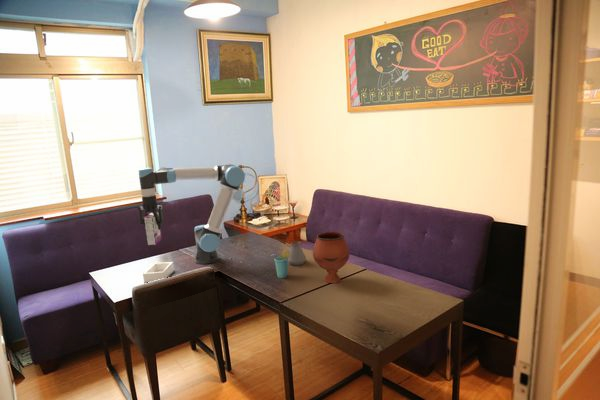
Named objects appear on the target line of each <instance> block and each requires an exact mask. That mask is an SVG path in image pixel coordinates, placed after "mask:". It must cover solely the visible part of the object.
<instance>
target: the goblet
mask: <svg viewBox="0 0 600 400" xmlns="http://www.w3.org/2000/svg"><path fill="white" fill-rule="evenodd" d="M312 257H313V260H314V262H315V264H317V265H318V266H319V268H321V269H323V270H325V271H326V273H327V274H326V275H325V277H324V279H323V280H324V282H325V283H328V284H336V283H338V282H340V281H341V277H340V276H339V274H338V273H339V270H340V269H342V268H343V267H344V266H345V265H346V264H347V262H348V261H349V259H350V249H349V247H348V243H347V241H346V239H345V235H344V233H343V232H340V231H327V232H322V233H319V234H317V235H316V240H315V242H314V245H313V249H312Z"/></svg>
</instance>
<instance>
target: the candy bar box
mask: <svg viewBox="0 0 600 400" xmlns="http://www.w3.org/2000/svg"><path fill="white" fill-rule="evenodd" d="M157 214H158V216H159V212H157ZM144 221H145V226H144V229H145V228H146V230H145V234H146V240H147V241H146V242H147V245H148V246H156V245H157V244H159V242H160V241H161V240H162V239H163V238H162V230H161V229H162V228H161V229H160V235H159V236H157V228H156V224H157V222H156V219H155V215H154V214H153V213H152V212H149V215H147V216H146V217H145V216H144Z"/></svg>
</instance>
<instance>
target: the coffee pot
mask: <svg viewBox="0 0 600 400" xmlns="http://www.w3.org/2000/svg"><path fill="white" fill-rule="evenodd" d="M272 240H273V241H275V240H276V241H278V242H280V243H282V244H283V245H286V246H287V247H289V248H290V250H289V253H290V256H289V258H288V260H287V263H289V264H290V265H292V266H300V265H303V264H304V263H305V262H306V261H307V257H306V255H305V251H303V247H301V244H302V241H299V240H297V241H295V240H294V241H291V242H290V244H288V243H287V242H285V241H283V240H282V239H279V238H277V237H276V236H275V237H273V239H272Z"/></svg>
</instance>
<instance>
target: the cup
mask: <svg viewBox="0 0 600 400" xmlns="http://www.w3.org/2000/svg"><path fill="white" fill-rule="evenodd" d="M273 256H274V258H273V261H274V264H275V270H276V276H277V278H278V279H284V278H287V277H288V258H289V256H290V250H286V249H285V250H283V252H282V253H281V255H277V254H276V253H272V254H271V255H270V258H272V257H273Z"/></svg>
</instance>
